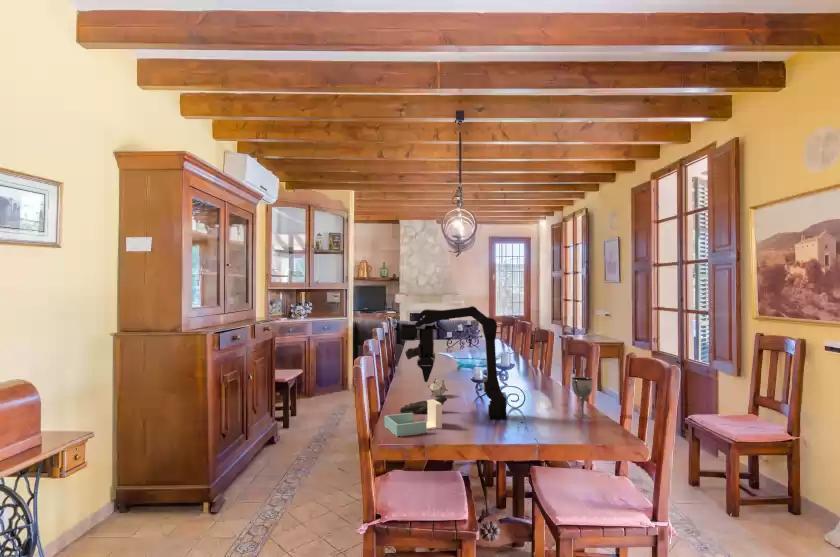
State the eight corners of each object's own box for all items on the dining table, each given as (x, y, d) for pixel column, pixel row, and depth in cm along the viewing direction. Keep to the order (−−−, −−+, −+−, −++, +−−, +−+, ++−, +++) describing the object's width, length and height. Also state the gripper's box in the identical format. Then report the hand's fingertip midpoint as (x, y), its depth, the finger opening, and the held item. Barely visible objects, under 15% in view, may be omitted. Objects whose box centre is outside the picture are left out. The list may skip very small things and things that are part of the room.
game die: (434, 403, 227) (429, 384, 232) (451, 397, 226) (445, 378, 231) (429, 398, 219) (424, 378, 225) (446, 392, 218) (440, 372, 224)
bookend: (433, 422, 183) (433, 399, 183) (442, 428, 176) (441, 403, 176) (410, 425, 179) (410, 401, 179) (418, 431, 172) (418, 406, 172)
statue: (401, 420, 195) (449, 410, 196) (399, 408, 194) (447, 398, 195) (400, 414, 201) (447, 404, 202) (398, 402, 200) (444, 392, 201)
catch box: (412, 422, 182) (412, 412, 183) (426, 432, 170) (426, 421, 170) (384, 426, 178) (384, 415, 178) (396, 436, 166) (396, 425, 166)
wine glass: (593, 414, 193) (593, 377, 193) (592, 419, 186) (591, 381, 186) (573, 412, 197) (573, 376, 197) (570, 417, 189) (570, 379, 190)
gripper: (408, 338, 202) (408, 375, 202) (404, 343, 183) (404, 384, 183) (435, 338, 201) (435, 375, 201) (433, 343, 183) (433, 384, 182)
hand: (426, 379), depth 192 cm, fingers open, 9 cm apart
